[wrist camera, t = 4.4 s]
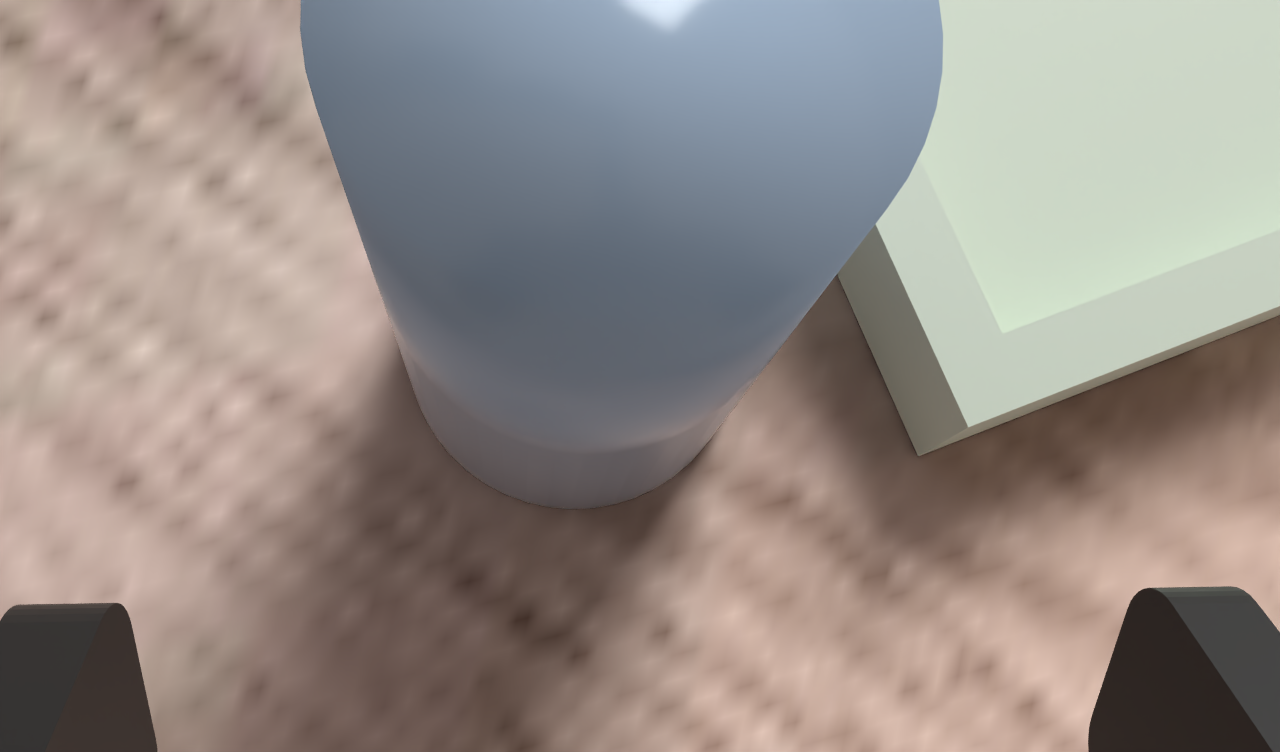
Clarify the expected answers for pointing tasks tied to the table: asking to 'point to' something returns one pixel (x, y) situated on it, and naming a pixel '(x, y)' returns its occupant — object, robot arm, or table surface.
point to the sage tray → (1075, 205)
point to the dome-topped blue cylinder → (610, 206)
